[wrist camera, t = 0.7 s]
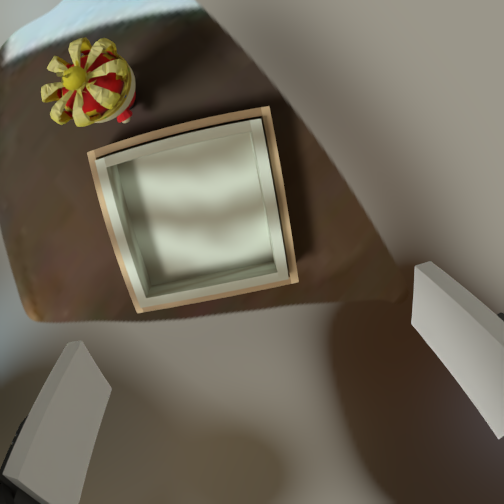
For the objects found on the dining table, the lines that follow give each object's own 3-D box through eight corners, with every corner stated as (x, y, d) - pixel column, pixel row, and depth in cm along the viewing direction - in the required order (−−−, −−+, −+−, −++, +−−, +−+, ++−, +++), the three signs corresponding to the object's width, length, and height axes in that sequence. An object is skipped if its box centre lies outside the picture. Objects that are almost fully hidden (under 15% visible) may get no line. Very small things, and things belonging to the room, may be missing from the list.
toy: (87, 88, 27) (8, 66, 13) (143, 54, 26) (89, 4, 12) (110, 140, 29) (35, 147, 15) (168, 108, 29) (123, 86, 15)
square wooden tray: (101, 150, 30) (82, 153, 25) (264, 110, 30) (270, 104, 25) (144, 296, 36) (135, 318, 32) (291, 267, 36) (300, 286, 32)
